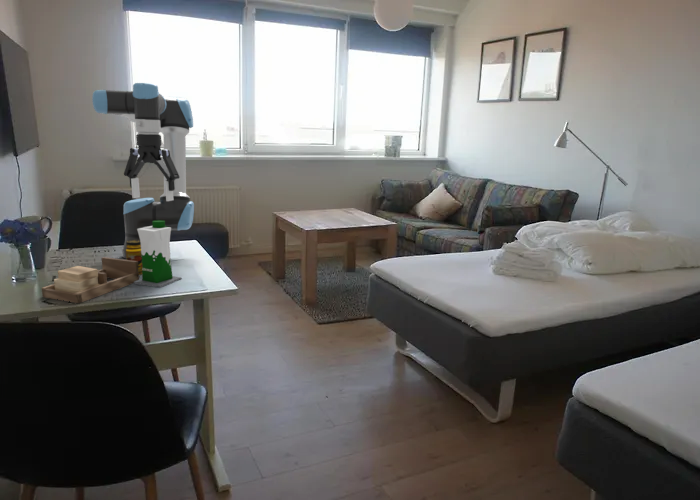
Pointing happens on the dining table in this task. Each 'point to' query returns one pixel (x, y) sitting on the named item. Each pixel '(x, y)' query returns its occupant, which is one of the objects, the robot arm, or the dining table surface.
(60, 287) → the offcut stack
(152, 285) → the mat
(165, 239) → the soya milk
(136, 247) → the condiment
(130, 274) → the tray
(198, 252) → the dining table surface
